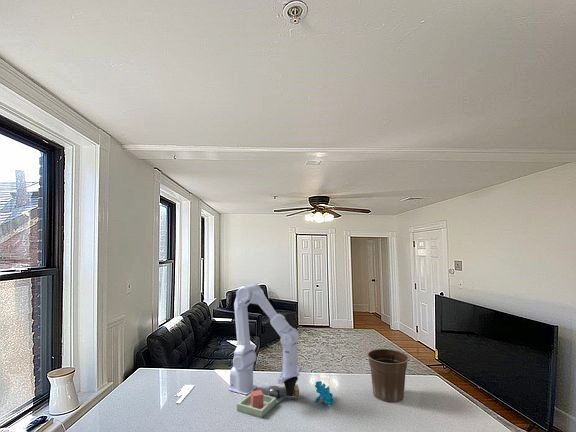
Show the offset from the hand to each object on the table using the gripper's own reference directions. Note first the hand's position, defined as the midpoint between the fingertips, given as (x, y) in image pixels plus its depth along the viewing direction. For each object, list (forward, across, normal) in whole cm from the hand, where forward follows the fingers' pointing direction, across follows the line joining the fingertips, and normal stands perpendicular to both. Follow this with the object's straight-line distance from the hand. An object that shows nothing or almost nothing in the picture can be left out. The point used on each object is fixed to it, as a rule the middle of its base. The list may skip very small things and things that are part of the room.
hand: (289, 395), depth 134 cm
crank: (+1, 0, +3) cm, 3 cm away
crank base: (+2, 0, +6) cm, 7 cm away
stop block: (+1, -11, +8) cm, 14 cm away
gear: (+2, +7, -12) cm, 14 cm away
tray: (+2, -11, +8) cm, 14 cm away
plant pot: (+2, +26, -32) cm, 41 cm away
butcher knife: (+2, -20, +40) cm, 45 cm away
